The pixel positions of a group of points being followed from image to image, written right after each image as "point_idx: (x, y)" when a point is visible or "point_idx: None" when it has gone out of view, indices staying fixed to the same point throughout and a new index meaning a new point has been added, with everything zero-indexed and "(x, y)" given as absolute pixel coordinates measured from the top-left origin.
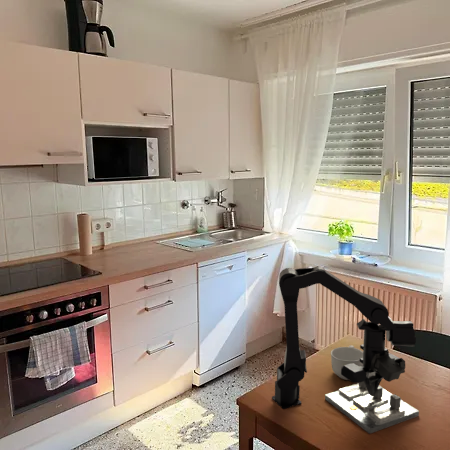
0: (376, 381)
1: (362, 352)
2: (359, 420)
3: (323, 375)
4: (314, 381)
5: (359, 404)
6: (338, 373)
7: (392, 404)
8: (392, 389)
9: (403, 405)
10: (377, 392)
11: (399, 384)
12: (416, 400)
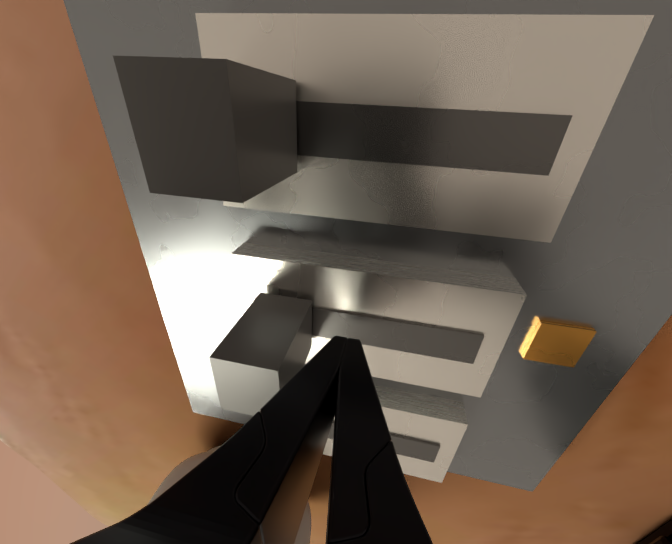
0: (273, 510)
1: None
2: None
3: None
4: None
5: (501, 338)
6: (309, 518)
7: (283, 134)
8: (123, 319)
9: None
10: (294, 343)
11: (67, 323)
12: (37, 177)
